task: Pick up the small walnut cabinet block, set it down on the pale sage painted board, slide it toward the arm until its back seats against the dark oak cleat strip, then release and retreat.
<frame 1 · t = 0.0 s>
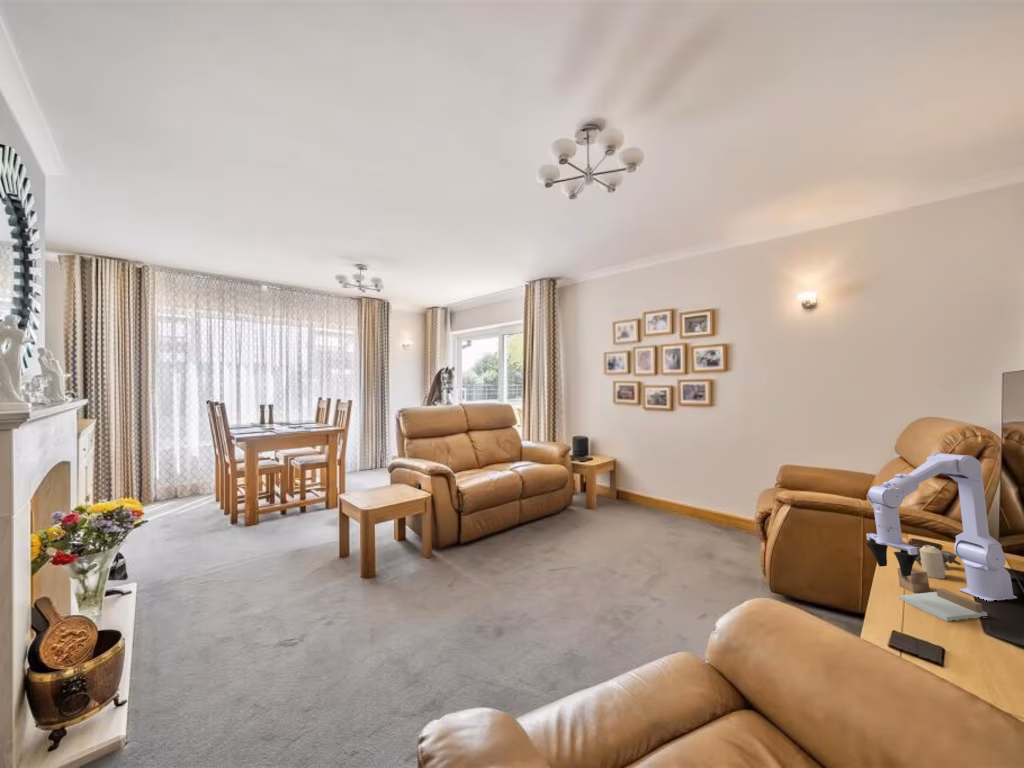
hand: (894, 570, 127), 10 cm above the table, fingers open, 7 cm apart
cabinet block: (914, 588, 135), on the table
dog figurine: (937, 567, 149), on the table
wall board: (941, 607, 123), on the table
candle: (934, 576, 143), on the table
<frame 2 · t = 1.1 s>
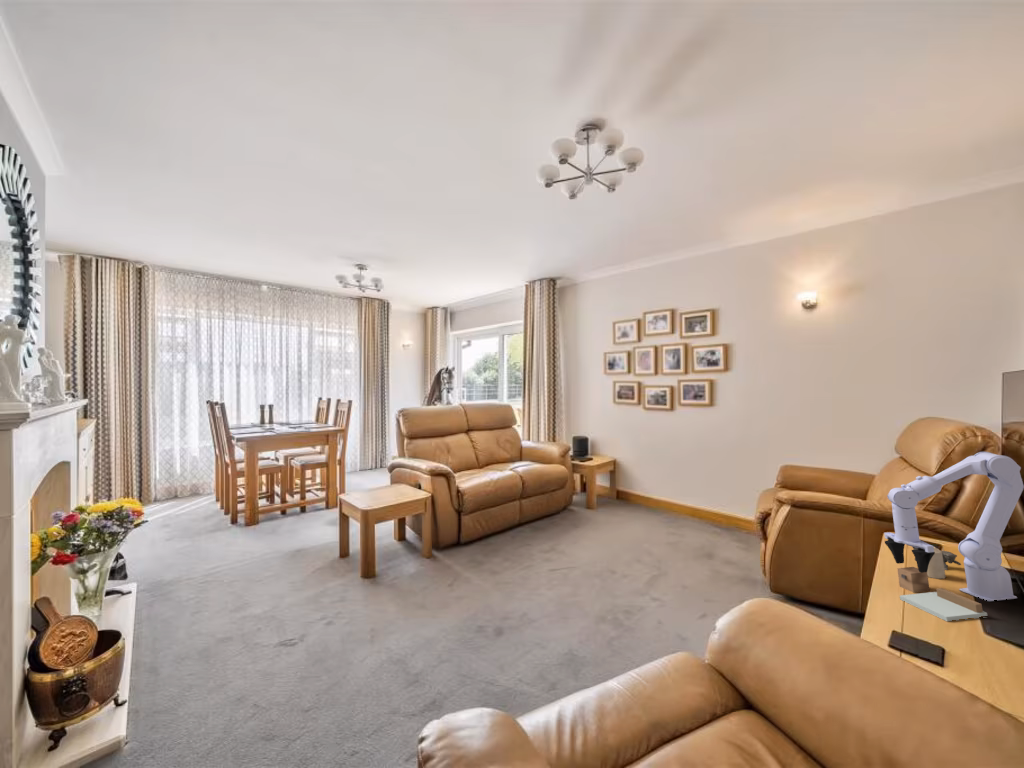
hand: (911, 567, 136), 7 cm above the table, fingers open, 7 cm apart
nothing on the table moved.
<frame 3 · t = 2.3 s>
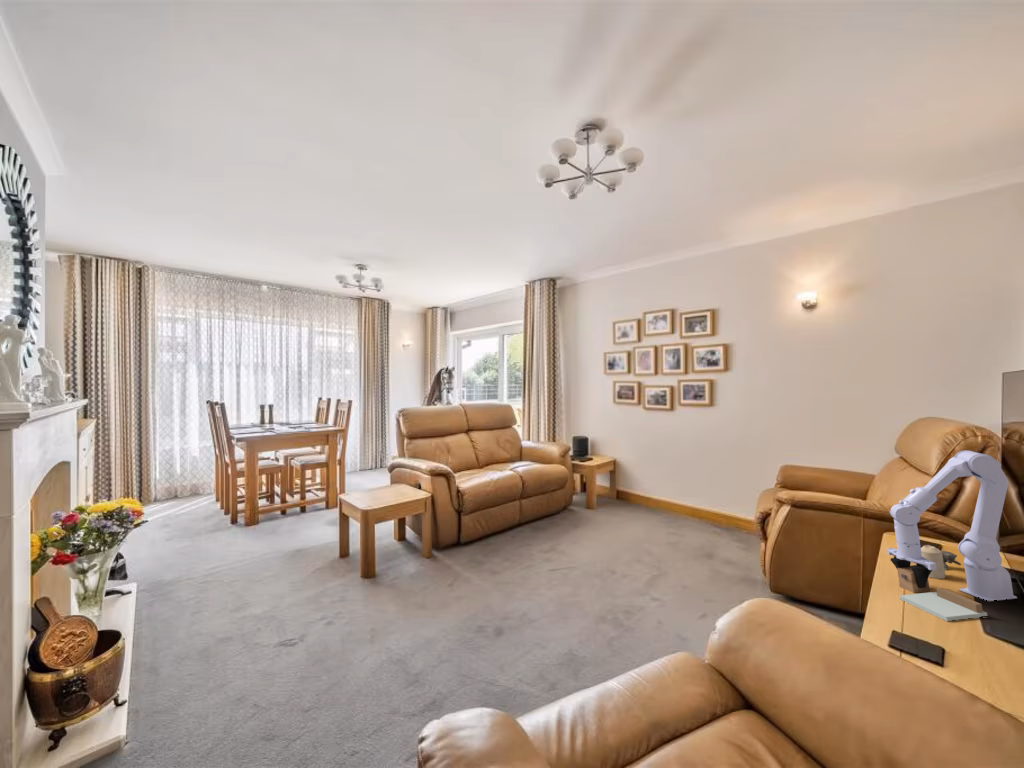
hand: (913, 584, 135), 1 cm above the table, fingers closed on cabinet block, 4 cm apart
cabinet block: (914, 588, 135), on the table, touching gripper
everything else where it was.
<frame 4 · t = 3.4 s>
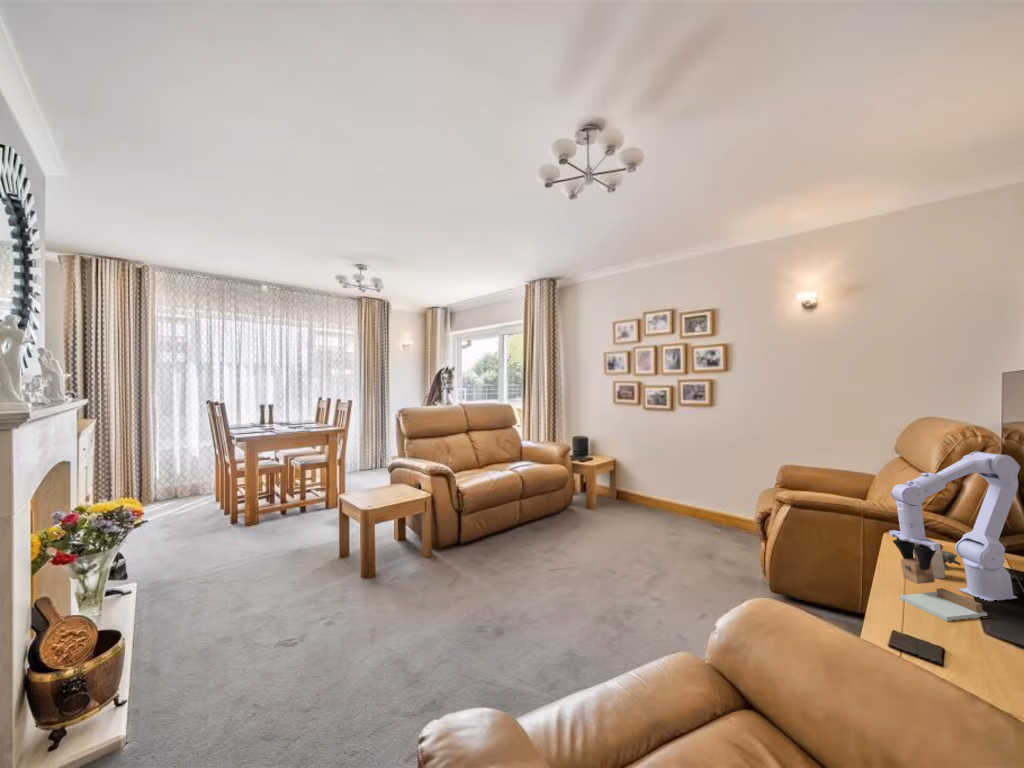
hand: (917, 566, 132), 9 cm above the table, fingers closed on cabinet block, 4 cm apart
cabinet block: (918, 580, 131), point 5 cm above the table, touching gripper
everything else where it was.
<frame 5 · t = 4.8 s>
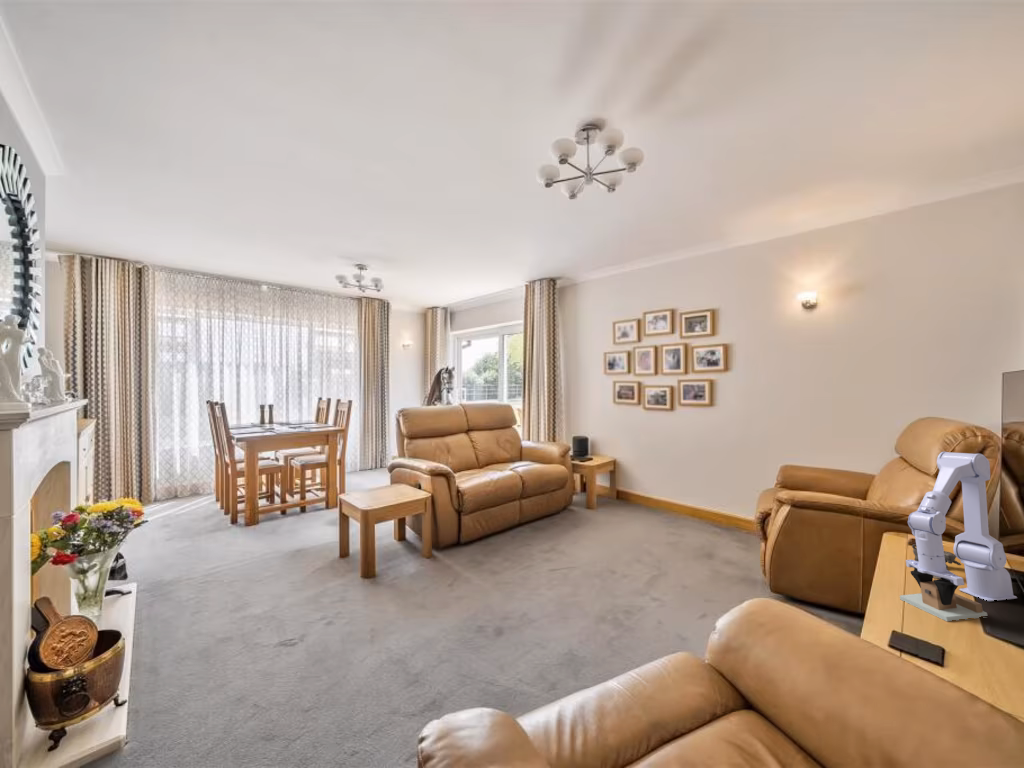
hand: (937, 600, 122), 3 cm above the table, fingers closed on cabinet block, 4 cm apart
cabinet block: (939, 605, 122), point 1 cm above the table, touching gripper
everything else where it was.
when the fingers open (3 cm above the table, at t = 5.8 s): cabinet block stays where it is, resting on wall board.
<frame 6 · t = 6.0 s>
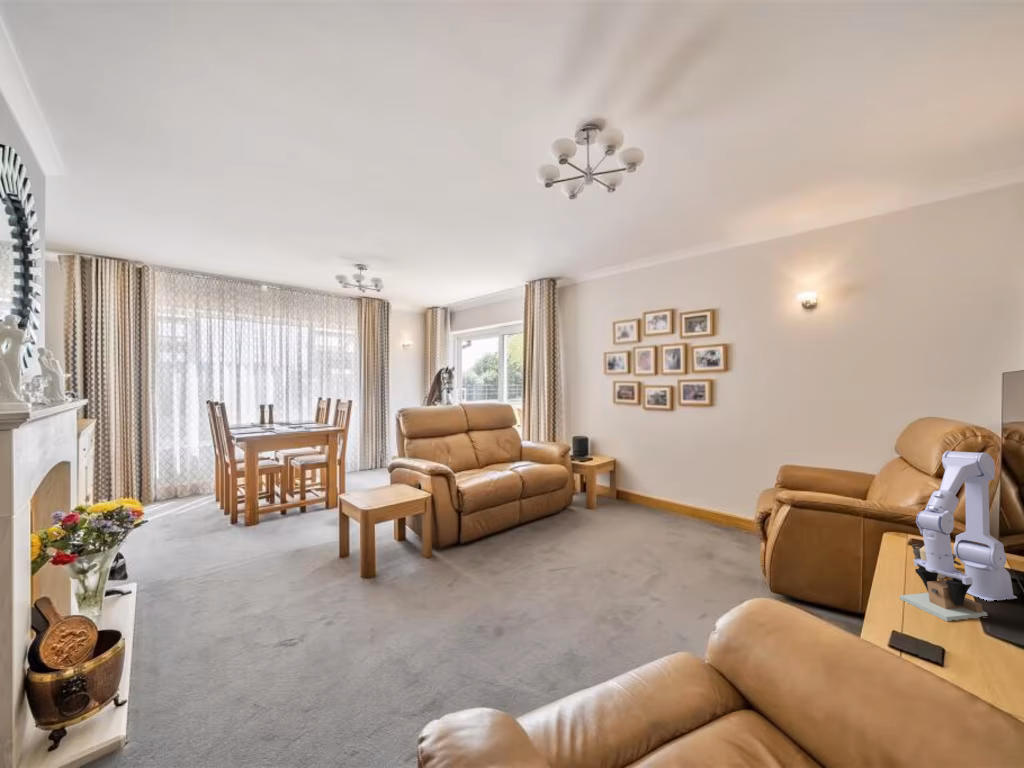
hand: (945, 599, 122), 3 cm above the table, fingers open, 6 cm apart
cabinet block: (946, 604, 122), point 1 cm above the table, touching wall board
everything else where it was.
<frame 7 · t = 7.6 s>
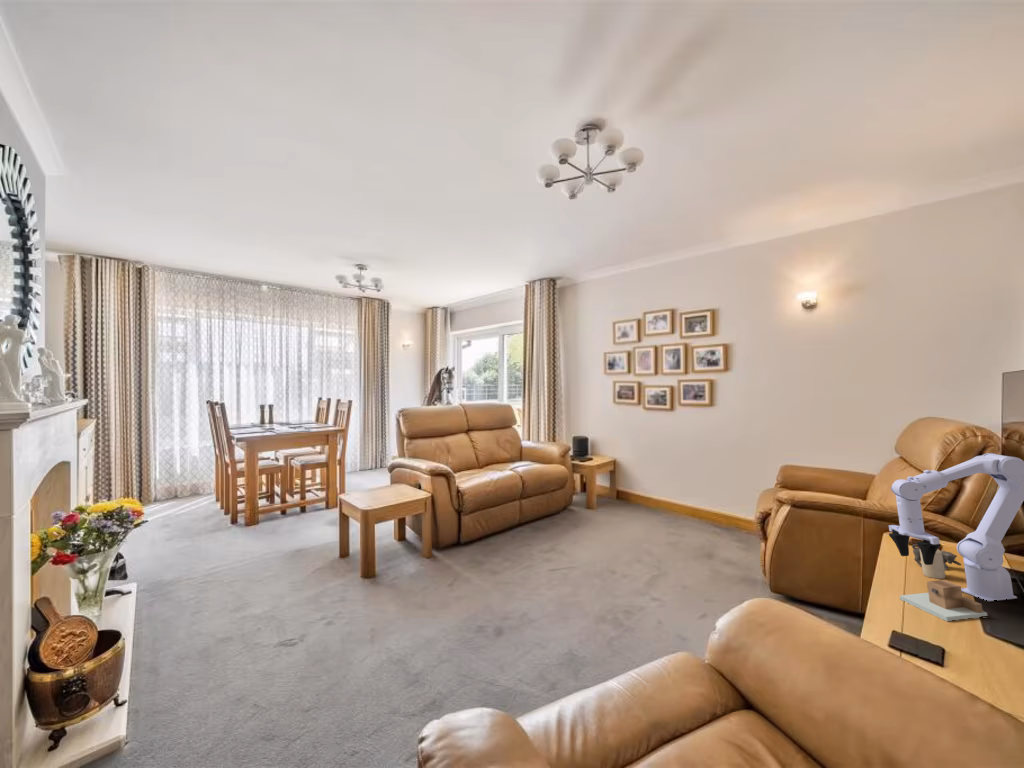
hand: (916, 559, 134), 10 cm above the table, fingers open, 7 cm apart
nothing on the table moved.
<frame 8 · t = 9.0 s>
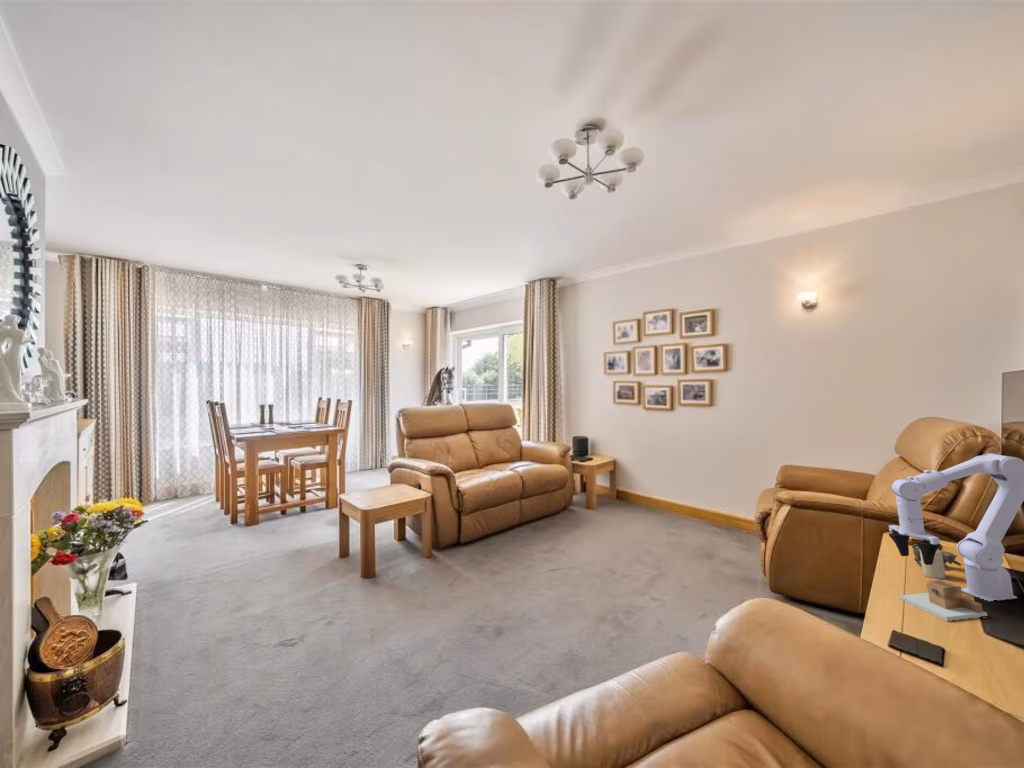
hand: (916, 559, 134), 10 cm above the table, fingers open, 7 cm apart
nothing on the table moved.
at the end: cabinet block 0.6 cm off-centre on the wall board, point 1.2 cm above the wall board's base; cabinet block tilted 0°; the gripper is holding nothing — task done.
